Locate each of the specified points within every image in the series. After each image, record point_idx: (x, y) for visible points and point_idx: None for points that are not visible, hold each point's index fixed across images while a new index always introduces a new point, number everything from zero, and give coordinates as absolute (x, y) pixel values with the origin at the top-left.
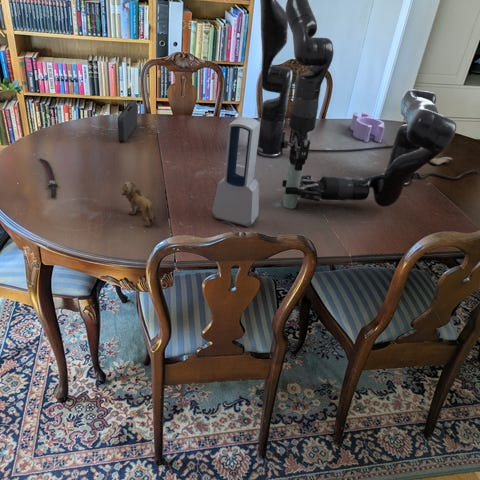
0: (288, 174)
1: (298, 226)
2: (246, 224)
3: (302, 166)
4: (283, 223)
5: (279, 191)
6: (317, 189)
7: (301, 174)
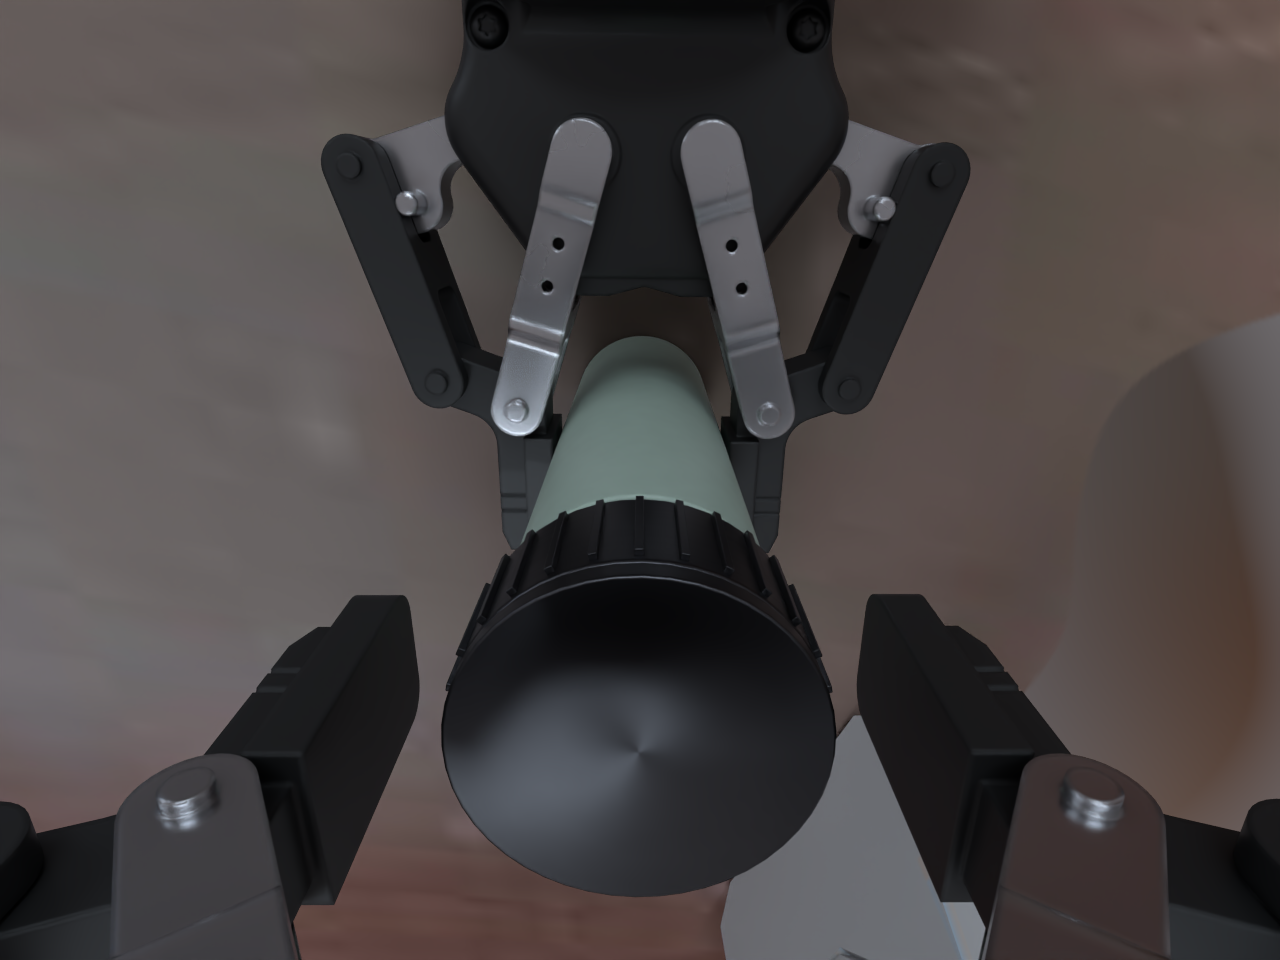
0: None
1: (1026, 400)
2: None
3: (950, 638)
4: (957, 516)
5: (361, 434)
6: (804, 157)
7: (713, 465)
